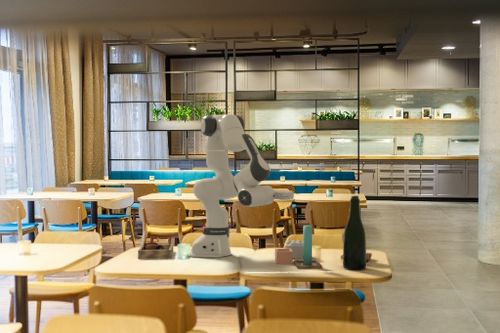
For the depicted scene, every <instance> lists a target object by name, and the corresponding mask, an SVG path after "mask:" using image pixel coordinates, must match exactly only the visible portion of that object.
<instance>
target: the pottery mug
mask: <svg viewBox="0 0 500 333" xmlns="http://www.w3.org/2000/svg"><path fill="white" fill-rule="evenodd" d="M158 244H159V243H157V242H156V241H148V242H145V243H143V248H142V250H160V248H161V250H164V247H163V246H162V245H158Z"/></svg>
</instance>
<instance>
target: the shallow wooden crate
mask: <svg viewBox="0 0 500 333" xmlns="http://www.w3.org/2000/svg"><path fill="white" fill-rule="evenodd" d="M143 244H144V243H143ZM143 244H141V246H140V247H139V248H138V250H137V258H138V259H139V260H141V259H171V258H172V256H173V254H174V244H173V243H167V244H165V243H161V244H160V243H157V244H158V245H162V246H163V247H164V250H161V248H160V250H142V248H143Z"/></svg>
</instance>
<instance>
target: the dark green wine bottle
mask: <svg viewBox="0 0 500 333" xmlns="http://www.w3.org/2000/svg"><path fill="white" fill-rule="evenodd" d="M360 203H361V200H360V198H359V195H351V197H350V199H349V216H348V219H347V223H346V224H345V226H344V230H343V232H344V238H343V241H342V255H343V259H342V267H343V268H344V269H345V270H349V271H362V270H365V269H366V268H367V261H366V253H367V234H366V233H367V232H366V229H365V226H364V223H363V221H362V217H361V211H360V210H361V208H360V206H361V205H360Z"/></svg>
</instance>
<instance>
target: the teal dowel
mask: <svg viewBox="0 0 500 333" xmlns="http://www.w3.org/2000/svg"><path fill="white" fill-rule="evenodd" d="M302 231H303V233H302V236H303V237H302V238H303V239H302V241H303V259H302V260H303V265H304V266H312V260H313V226H312V225H308V224H307V225H306V224H305V225H303V228H302Z"/></svg>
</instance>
